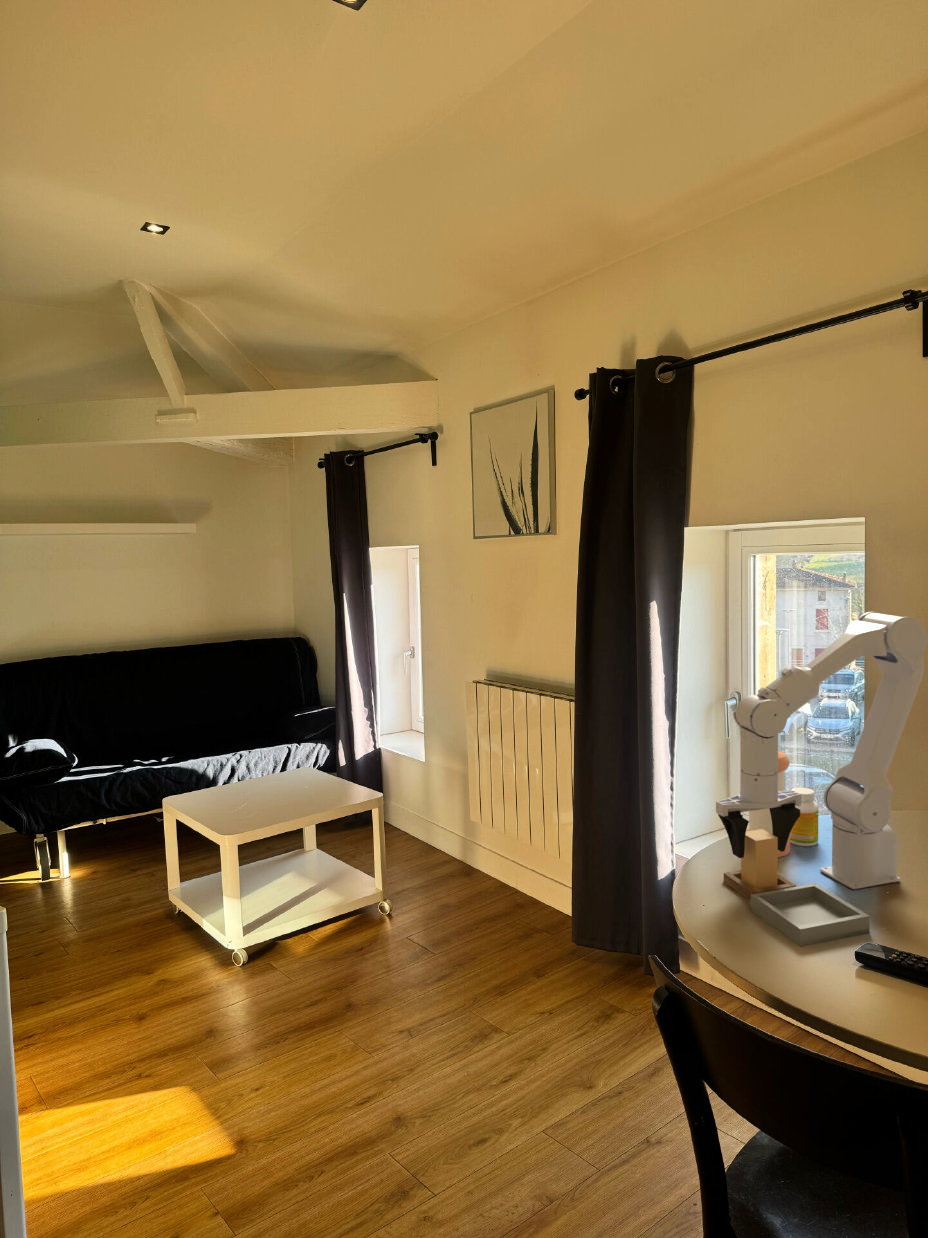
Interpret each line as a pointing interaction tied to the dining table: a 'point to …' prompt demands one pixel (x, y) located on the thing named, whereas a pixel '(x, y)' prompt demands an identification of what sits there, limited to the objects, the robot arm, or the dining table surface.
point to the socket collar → (735, 882)
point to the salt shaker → (763, 816)
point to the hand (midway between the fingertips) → (758, 852)
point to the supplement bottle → (805, 820)
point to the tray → (809, 914)
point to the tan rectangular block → (760, 859)
